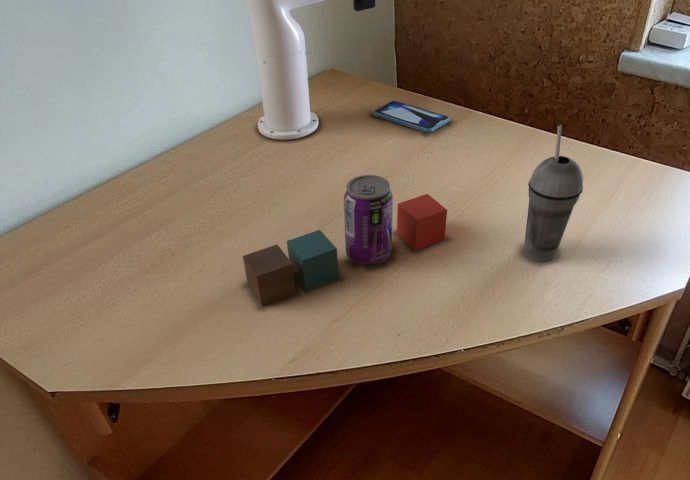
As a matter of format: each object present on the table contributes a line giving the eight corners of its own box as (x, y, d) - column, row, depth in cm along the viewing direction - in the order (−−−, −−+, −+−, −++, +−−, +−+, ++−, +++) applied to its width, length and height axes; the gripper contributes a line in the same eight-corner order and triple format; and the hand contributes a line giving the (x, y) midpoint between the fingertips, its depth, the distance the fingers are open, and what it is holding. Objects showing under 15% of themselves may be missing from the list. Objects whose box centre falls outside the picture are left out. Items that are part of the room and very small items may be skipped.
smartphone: (393, 99, 133) (451, 116, 125) (393, 103, 134) (451, 121, 126) (371, 111, 129) (429, 130, 121) (371, 116, 130) (428, 135, 122)
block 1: (247, 285, 93) (242, 255, 89) (281, 273, 94) (277, 243, 90) (261, 306, 89) (256, 276, 85) (296, 293, 91) (292, 263, 87)
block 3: (396, 232, 100) (397, 203, 96) (425, 222, 101) (427, 193, 97) (415, 250, 96) (416, 220, 92) (444, 239, 98) (447, 209, 94)
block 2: (290, 270, 95) (286, 240, 91) (322, 259, 96) (319, 229, 92) (305, 290, 91) (302, 260, 87) (338, 278, 93) (336, 248, 89)
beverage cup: (556, 273, 90) (590, 145, 76) (507, 259, 93) (532, 133, 79) (570, 246, 95) (605, 121, 80) (524, 234, 98) (550, 110, 83)
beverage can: (388, 269, 93) (389, 200, 85) (342, 266, 95) (339, 197, 86) (393, 242, 98) (395, 174, 90) (349, 239, 99) (347, 171, 91)
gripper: (288, -154, 81) (299, -10, 94) (350, -141, 70) (353, 22, 82) (338, -162, 83) (342, -19, 96) (406, -149, 72) (401, 10, 84)
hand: (347, 0), depth 89 cm, fingers open, 9 cm apart
